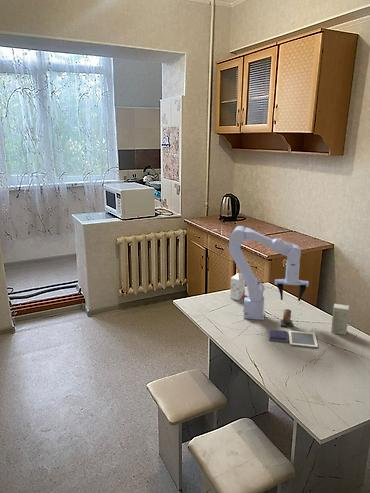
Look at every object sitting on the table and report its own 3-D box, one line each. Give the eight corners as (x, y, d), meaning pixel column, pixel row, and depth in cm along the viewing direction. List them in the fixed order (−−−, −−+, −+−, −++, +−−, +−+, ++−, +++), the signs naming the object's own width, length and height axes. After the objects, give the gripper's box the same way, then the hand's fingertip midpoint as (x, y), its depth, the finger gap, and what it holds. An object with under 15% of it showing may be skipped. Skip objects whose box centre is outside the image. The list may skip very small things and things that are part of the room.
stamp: (280, 326, 167) (281, 312, 165) (280, 321, 172) (281, 307, 170) (292, 328, 166) (293, 313, 164) (291, 322, 171) (292, 308, 169)
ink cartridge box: (236, 292, 203) (237, 267, 198) (245, 294, 200) (246, 269, 196) (229, 298, 196) (230, 272, 191) (238, 300, 193) (239, 274, 189)
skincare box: (346, 330, 163) (350, 305, 160) (346, 335, 159) (349, 309, 156) (331, 327, 166) (334, 302, 162) (330, 332, 162) (333, 307, 158)
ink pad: (268, 340, 156) (268, 337, 155) (268, 332, 163) (268, 328, 162) (288, 342, 154) (288, 339, 154) (287, 334, 161) (287, 330, 160)
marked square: (289, 345, 152) (289, 343, 152) (288, 331, 163) (288, 330, 163) (317, 348, 150) (318, 346, 150) (314, 334, 161) (314, 333, 160)
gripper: (308, 269, 168) (305, 296, 172) (275, 267, 171) (273, 294, 175) (310, 275, 162) (307, 303, 166) (276, 273, 164) (274, 301, 168)
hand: (290, 299), depth 170 cm, fingers open, 7 cm apart
